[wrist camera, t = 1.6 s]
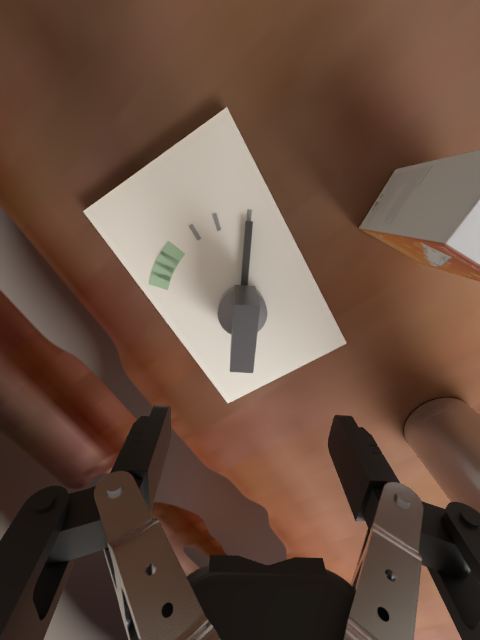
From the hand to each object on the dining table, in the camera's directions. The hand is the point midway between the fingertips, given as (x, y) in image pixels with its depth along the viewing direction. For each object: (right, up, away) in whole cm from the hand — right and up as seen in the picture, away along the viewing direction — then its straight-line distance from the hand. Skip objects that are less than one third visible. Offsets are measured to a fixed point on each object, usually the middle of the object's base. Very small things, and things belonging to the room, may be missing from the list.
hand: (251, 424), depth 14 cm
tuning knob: (0, +9, +15) cm, 18 cm away
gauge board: (-2, +9, +17) cm, 20 cm away
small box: (+16, +15, +15) cm, 27 cm away
